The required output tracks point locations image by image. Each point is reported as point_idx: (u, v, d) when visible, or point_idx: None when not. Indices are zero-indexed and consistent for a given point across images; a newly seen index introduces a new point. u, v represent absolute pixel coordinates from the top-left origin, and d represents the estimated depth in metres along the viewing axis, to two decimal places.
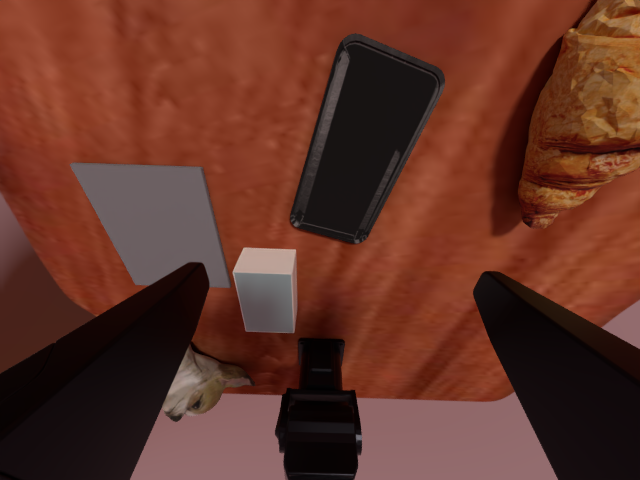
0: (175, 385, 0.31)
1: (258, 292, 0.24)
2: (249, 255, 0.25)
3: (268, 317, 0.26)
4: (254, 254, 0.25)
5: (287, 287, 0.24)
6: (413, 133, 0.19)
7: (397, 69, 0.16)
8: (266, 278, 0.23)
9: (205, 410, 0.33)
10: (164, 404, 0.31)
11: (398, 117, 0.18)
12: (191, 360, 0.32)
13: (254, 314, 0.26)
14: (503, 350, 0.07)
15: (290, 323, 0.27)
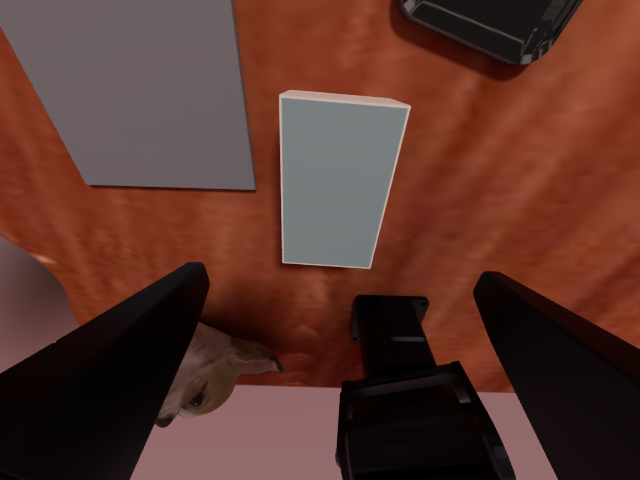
0: None
1: (325, 163, 0.12)
2: (305, 92, 0.12)
3: (331, 230, 0.14)
4: (313, 93, 0.12)
5: (387, 152, 0.11)
6: None
7: None
8: (350, 119, 0.10)
9: (211, 408, 0.20)
10: None
11: None
12: None
13: (305, 222, 0.13)
14: (503, 350, 0.07)
15: (369, 246, 0.14)
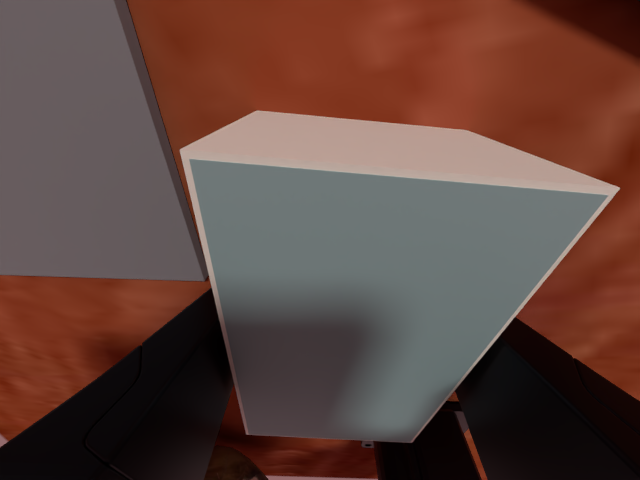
0: None
1: (333, 310, 0.04)
2: (284, 123, 0.05)
3: (341, 404, 0.07)
4: (305, 122, 0.05)
5: (500, 289, 0.04)
6: None
7: None
8: (415, 221, 0.03)
9: None
10: None
11: None
12: None
13: (286, 390, 0.06)
14: None
15: (416, 421, 0.07)
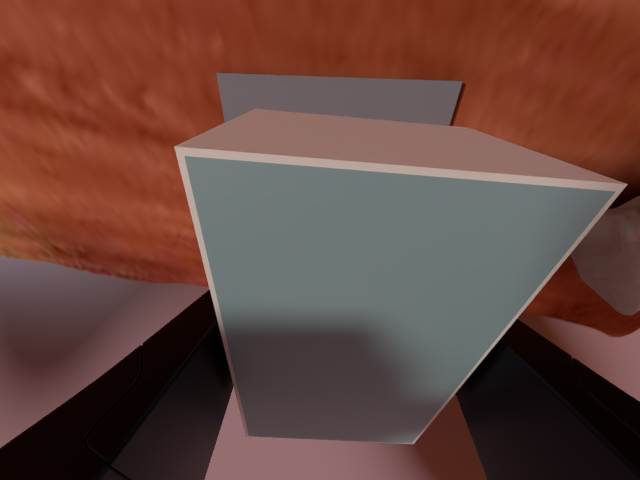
0: None
1: (332, 310, 0.04)
2: (283, 121, 0.05)
3: (342, 405, 0.06)
4: (303, 120, 0.05)
5: (504, 288, 0.04)
6: None
7: None
8: (416, 219, 0.03)
9: None
10: None
11: None
12: (630, 211, 0.15)
13: (286, 391, 0.06)
14: None
15: (418, 423, 0.07)
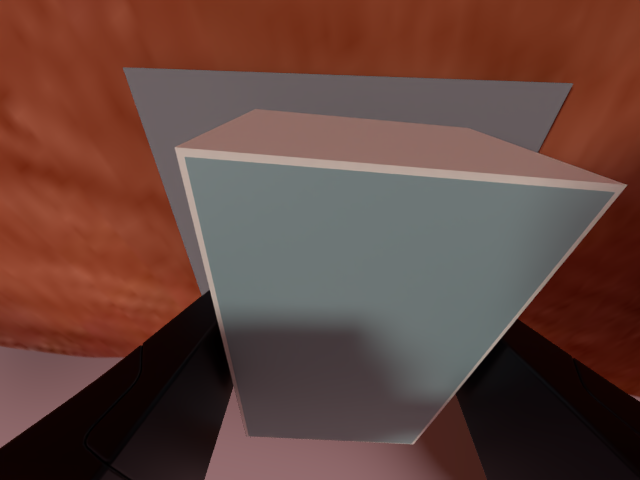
0: None
1: (332, 311, 0.04)
2: (283, 121, 0.05)
3: (342, 405, 0.06)
4: (303, 120, 0.05)
5: (504, 290, 0.04)
6: None
7: None
8: (416, 220, 0.03)
9: None
10: None
11: None
12: None
13: (286, 392, 0.06)
14: None
15: (418, 423, 0.07)
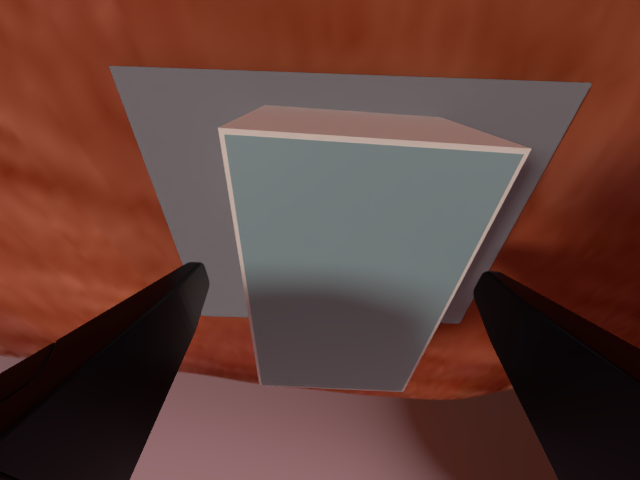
0: None
1: (329, 257, 0.06)
2: (288, 113, 0.06)
3: (340, 350, 0.08)
4: (305, 113, 0.06)
5: (458, 236, 0.05)
6: None
7: None
8: (386, 178, 0.05)
9: None
10: None
11: None
12: None
13: (293, 338, 0.08)
14: (503, 350, 0.07)
15: (405, 368, 0.08)
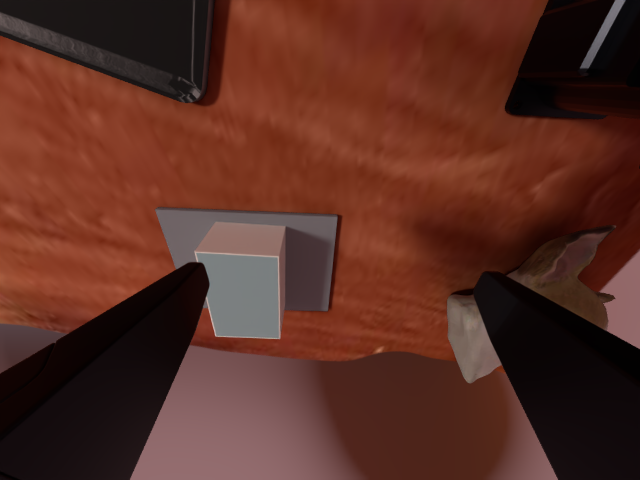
0: None
1: (232, 283, 0.17)
2: (221, 232, 0.18)
3: (245, 317, 0.19)
4: (227, 230, 0.18)
5: (272, 277, 0.17)
6: None
7: None
8: (242, 262, 0.16)
9: (595, 324, 0.17)
10: None
11: None
12: (473, 304, 0.21)
13: (226, 313, 0.19)
14: (503, 350, 0.07)
15: (275, 326, 0.20)
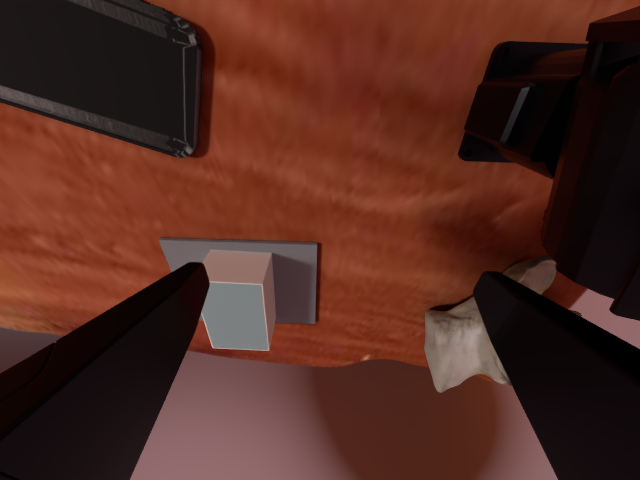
0: (467, 354, 0.21)
1: (224, 305, 0.20)
2: (214, 260, 0.21)
3: (237, 333, 0.22)
4: (220, 258, 0.21)
5: (258, 300, 0.20)
6: None
7: None
8: (231, 289, 0.19)
9: None
10: None
11: None
12: (444, 321, 0.23)
13: (221, 328, 0.22)
14: (503, 350, 0.07)
15: (264, 340, 0.23)
